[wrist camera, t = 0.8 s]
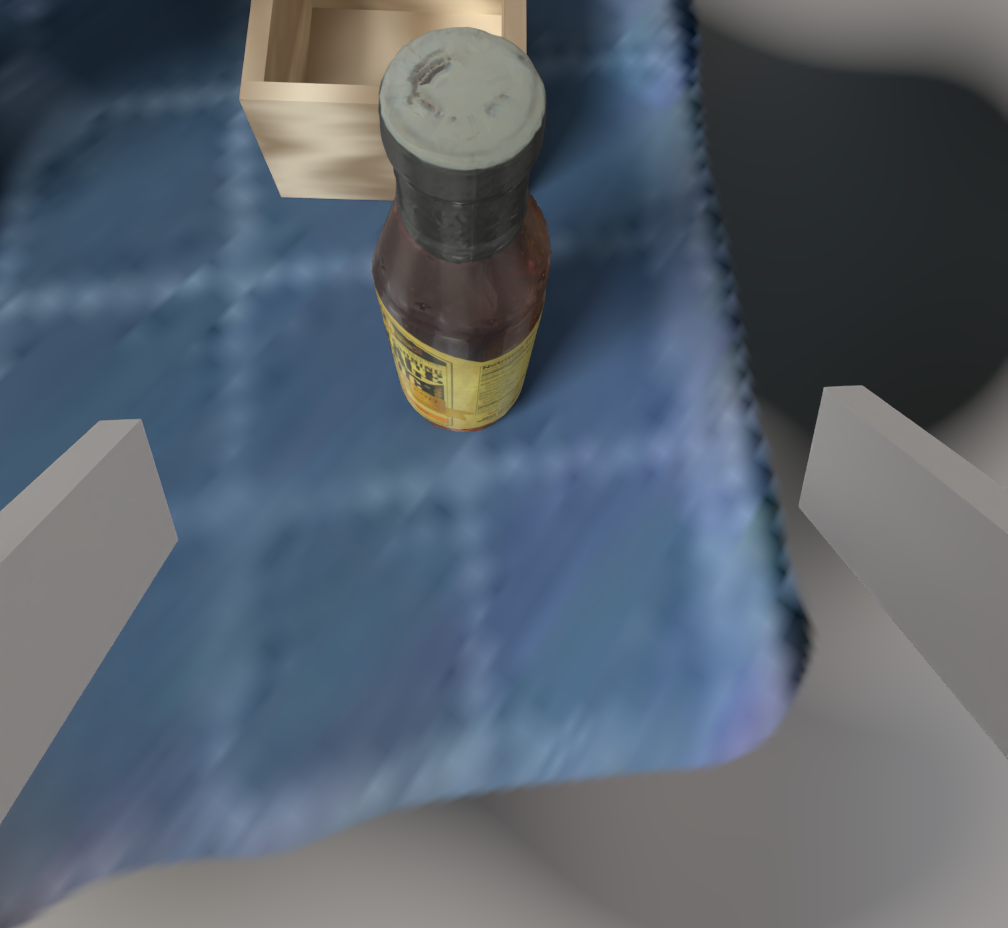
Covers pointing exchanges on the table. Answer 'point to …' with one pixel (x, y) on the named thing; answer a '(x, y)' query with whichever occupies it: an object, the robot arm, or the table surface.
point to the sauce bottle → (462, 223)
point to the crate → (341, 83)
